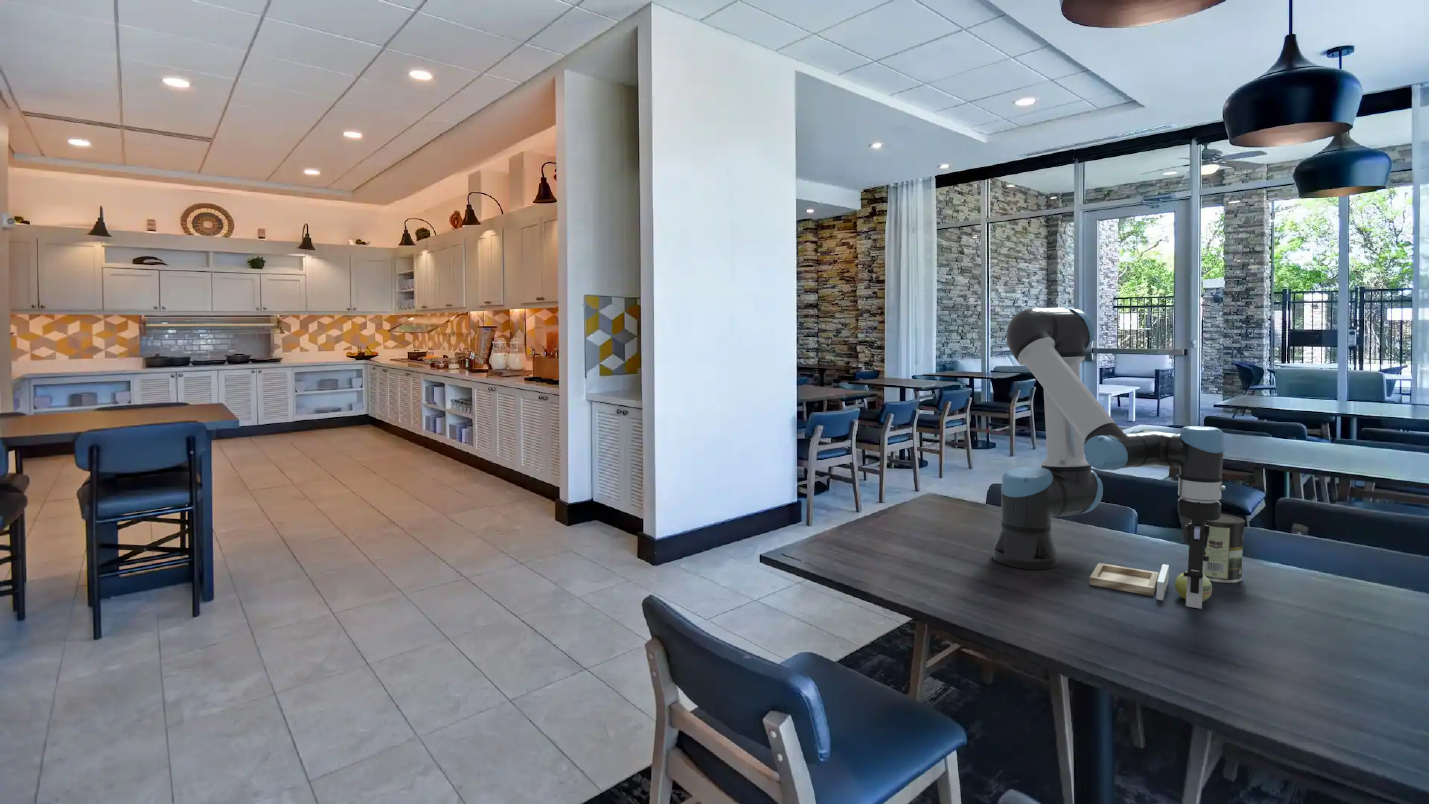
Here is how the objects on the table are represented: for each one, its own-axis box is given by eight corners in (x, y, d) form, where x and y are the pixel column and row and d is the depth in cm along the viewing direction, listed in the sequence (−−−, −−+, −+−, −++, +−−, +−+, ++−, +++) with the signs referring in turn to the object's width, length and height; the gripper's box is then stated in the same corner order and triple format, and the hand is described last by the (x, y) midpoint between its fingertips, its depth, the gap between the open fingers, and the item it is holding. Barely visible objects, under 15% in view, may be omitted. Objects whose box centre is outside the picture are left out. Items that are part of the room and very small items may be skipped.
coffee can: (1227, 569, 165) (1230, 512, 164) (1251, 584, 155) (1254, 524, 154) (1179, 567, 168) (1182, 511, 166) (1200, 582, 157) (1203, 522, 156)
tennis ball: (1201, 576, 142) (1216, 569, 146) (1166, 572, 148) (1181, 566, 152) (1205, 607, 142) (1219, 599, 146) (1170, 601, 148) (1185, 594, 151)
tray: (1089, 584, 157) (1089, 577, 157) (1098, 570, 167) (1098, 562, 167) (1153, 596, 149) (1153, 588, 149) (1158, 580, 159) (1158, 572, 159)
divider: (1156, 599, 148) (1157, 581, 147) (1162, 580, 159) (1162, 564, 158) (1163, 600, 147) (1163, 582, 146) (1168, 581, 158) (1168, 565, 158)
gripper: (1220, 512, 134) (1215, 620, 136) (1222, 491, 153) (1217, 585, 155) (1174, 507, 138) (1170, 611, 140) (1181, 487, 157) (1178, 579, 159)
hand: (1195, 598), depth 147 cm, fingers open, 11 cm apart
